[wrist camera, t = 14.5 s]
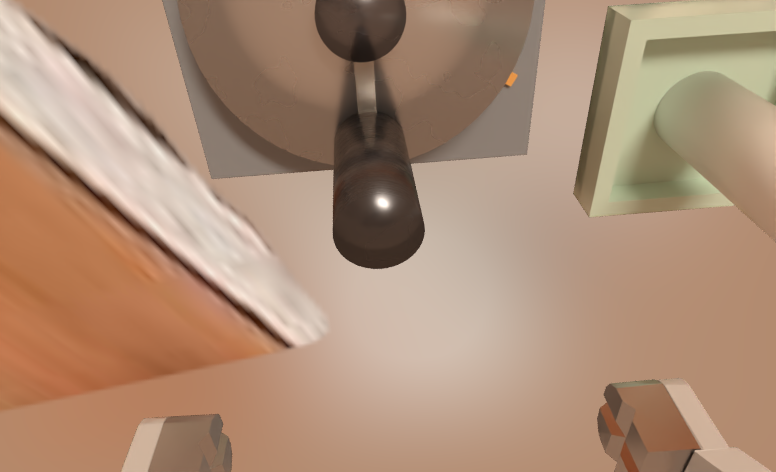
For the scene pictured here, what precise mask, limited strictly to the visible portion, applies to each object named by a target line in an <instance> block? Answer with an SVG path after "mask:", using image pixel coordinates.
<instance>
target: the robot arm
mask: <svg viewBox="0 0 776 472" xmlns="http://www.w3.org/2000/svg"><path fill="white" fill-rule="evenodd" d="M604 396H605V399H606V401H607V403H606V404H605V405H603V406H602V407H601V408H600V409H599V413H598V418H597V421H598V432H599V436H600V440H601V443H602V445H603V448H604V450H605V453H607V454H608V455H609V456H610V457H611V458H613V459H614V460H615V461H617V464H616V468H615V471H614V472H772V471H770V470H769V469H768V468H766V467H765V466H763V465H762V464H760V463H759V462H757V461H756V460H754V459H753V458H751V457H750V456H749V455H747V454H746V453H744V452H743V451H741V450H739V449H738V448H737V447H728V445H727V443H726V442H725V440H724V439H723V437H722V436H721V434H720V433H719V431H718V429H717V428H716V426H715V425H714V423H713V422H712V420H711V418H710V417H709V416H708V414H707V412H706V411H705V410H704V408H703V406H702V405H701V403H700V402H699V400H698V398H697V397H696V395H695V394H694V392H693V390H692V389H691V387H690V386H689V384H688V383H687V382H686V381H685V380H684V379H682V378H676V379H665V380H644V381H634V382H622V383H612V384H609V385H608V386H607V387H606V389H605V392H604ZM222 427H223V422H222V420H221V417H220V415H219V414H209V415H191V416H173V417H156V418H144V419H143V420H142V421H141V423H140V424H139V425H138V427H137V429H136V432H135V435H134V437H133V440H132V443H131V445H130V448H129V451H128V453H127V456H126V459H125V461H124V465H123V467H122V470H121V472H231V468H232V450H231V443H230V441H229V438H228V436H227V435H225V434H223V433H222V432H221V431H222Z"/></svg>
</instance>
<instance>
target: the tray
mask: <svg viewBox="0 0 776 472" xmlns="http://www.w3.org/2000/svg"><path fill="white" fill-rule="evenodd" d="M703 71H714V72H718V73H721V74H723V75H725V76H726V77H728V78H730V79H731V80H733V81H735V82H737V83H738V84H740V85H742V86H743V87H745V88H747V89H748V90H750V91H752V92H753V93H755V94H757V95H758V96H760V97H762V98H763V99H765V100H767V101H768V102H770V103H772V104H773V105H775V106H776V0H691V1H676V2H662V3H648V4H633V5H618V6H608V10H607V15H606V20H605V26H604V32H603V37H602V42H601V47H600V53H599V58H598V64H597V69H596V74H595V80H594V85H593V90H592V96H591V101H590V107H589V112H588V117H587V123H586V129H585V134H584V139H583V144H582V150H581V155H580V161H579V166H578V171H577V177H576V183H575V187H574V193H573V194H574V195H575V197H576V198H577V200H578V201H579V203H580V204H581V206H582V207H583V209H584V210H585V212H586V213H587V215H588V216H589V217H598V216H611V215H625V214H637V213H649V212H662V211H673V210H686V209H698V208H711V207H723V206H735V205H734V204H733V203H732V202H731V201H729V200H728V199H727V198H726V197H725V196H724V195H723V194H722V193H721V192H720V191H718V190H717V189H716V188H715V187H714V186H713V185H712V184H711V183H710V182H708V181H707V180H706V179H705V178H704V177H703V176H702V175H701V174H700V173H699V172H697V171H696V170H695V169H694V168H693V167H692V166H691V165H690V164H689V163H687V162H686V161H685V160H684V159H683V158H682V157H681V156H680V155H679V154H678V153H676V152H675V151H674V150H673V149H672V148H671V147H670V146H669V145H668V144H666V143H665V142H664V141H663V140H662V139H661V138H660V137H659V136H658V134H657V132H656V129H655V124H654V119H655V113H656V110H657V107H658V105H659V103H660V101H661V99H662V98H663V97H664V95H665V94H666V93H667V92H668V90H669V89H670V88H671V87H672V86H674V85H675V84H676V83H677V82H679V81H680V80H682V79H683V78H685V77H687V76H689V75H692V74H694V73H698V72H703Z"/></svg>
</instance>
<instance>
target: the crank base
mask: <svg viewBox="0 0 776 472" xmlns="http://www.w3.org/2000/svg"><path fill="white" fill-rule="evenodd" d="M162 2H163V5H164V9H165V12H166V16H167V19H168V23H169V27H170V30H171V34H172V38H173V41H174V45H175V48H176V52H177V56H178V59H179V63H180V67H181V70H182V74H183V77H184V81H185V85H186V88H187V92H188V95H189V99H190V102H191V106H192V110H193V113H194V117H195V121H196V124H197V128H198V131H199V135H200V138H201V142H202V146H203V149H204V153H205V157H206V160H207V164H208V167H209V171H210V175H211V178H212V179H217V178H230V177H242V176H256V175H269V174H282V173H294V172H308V171H320V170H334V165H330V164H325V163H321V162H316V161H312V160H309V159H306V158H303V157H300V156H297V155H294V154H292V153H290V152H288V151H286V150H284V149H282V148H280V147H277V146H275V145H274V144H272V143H271V142H269V141H267V140H266V139H264V138H263V137H261V136H259V135H258V134H257V133H255V132H254V131H253V130H251V129H250V128H249V127H248V126H246V125H245V124H244V123H243V122H241V121H240V120H239V119H238V118H237V117H236V116H235V115H234V114H233V113H232V112H231V111H230V110H229V109H228V108H227V107H226V106H225V104H224V103H223V102H222V101H221V99H220V98H219V97H218V95H217V94H216V93H215V92H214V90H213V89H212V88H211V86H210V85H209V83H208V81H207V80H206V78H205V77H204V75H203V73H202V72H201V70H200V68H199V66H198V64H197V62H196V60H195V58H194V56H193V54H192V51H191V49H190V47H189V44H188V41H187V38H186V35H185V32H184V29H183V26H182V23H181V18H180V13H179V8H178V3H177V0H162ZM544 7H545V0H534V6H533V12H532V18H531V23H530V27H529V30H528V34H527V37H526V40H525V44H524V47H523V49H522V51H521V54H520V56H519V58H518V61H517V63H516V66H515V67H514V69H513V71H512V73H511V75H510V76H509V78H508V80H507V82H506V83H505V85H504V87H503V88H502V89H501V91H500V92H499V93H498V95H497V96H496V98H495V99H494V100H493V102H492V103H491V104H490V105H489V106H488V107H487V108H486V109H485V111H484V112H483V113H482V114H481V115H480V116H479V117H478V118H477V119H476V120H475V121H474V122H472V123H471V124H470V125H469V126H468V127H467V128H465V129H464V130H463V131H462V132H461V133H459V134H458V135H456V136H455V137H453V138H452V139H450V140H449V141H447V142H446V143H444V144H442V145H440V146H438V147H436V148H435V149H433V150H431V151H429V152H427V153H424V154H421V155H419V156H416V157H414V158H411V159H410V163H411V164H412V163H425V162H437V161H450V160H463V159H476V158H488V157H501V156H515V155H527V149H528V140H529V132H530V124H531V115H532V108H533V98H534V91H535V82H536V73H537V66H538V57H539V49H540V41H541V31H542V24H543V16H544Z"/></svg>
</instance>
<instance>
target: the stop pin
mask: <svg viewBox="0 0 776 472" xmlns="http://www.w3.org/2000/svg"><path fill="white" fill-rule="evenodd" d="M654 124H655V129H656V132H657V134H658V136H659V137H660V138H661V139H662V140H663V141H664V142H665V143H666V144H668V145H669V146H670V147H671V148H672V149H673V150H674V151H675V152H676V153H678V154H679V155H680V156H681V157H682V158H683V159H684V160H685V161H686V162H687V163H689V164H690V165H691V166H692V167H693V168H694V169H695V170H696V171H697V172H699V173H700V174H701V175H702V176H703V177H704V178H705V179H706V180H707V181H708V182H710V183H711V184H712V185H713V186H714V187H715V188H716V189H717V190H718V191H720V192H721V193H722V194H723V195H724V196H725V197H726V198H727V199H728V200H729V201H731V202H732V203H733V204H734V205H735V206H736V207H737V208H738V209H740V210H741V211H742V212H743V213H744V214H745V215H746V216H747V217H748V218H749V219H750V220H752V221H753V222H754V223H755V224H756V225H757V226H758V227H759V228H760V229H762V230H763V231H764V232H765V233H766V234H767V235H768V236H769V237H771V238H772V239H773V240H774V241H775V242H776V106H775V105H773V104H772V103H770V102H768V101H767V100H765V99H763V98H762V97H760V96H758V95H757V94H755V93H753V92H752V91H750V90H748V89H747V88H745V87H743V86H742V85H740V84H738V83H737V82H735V81H733V80H731V79H730V78H728V77H726V76H725V75H723V74H721V73H718V72H714V71H703V72H698V73H694V74H692V75H689V76H687V77H685V78H683V79H682V80H680V81H679V82H677V83H676V84H675V85H674V86H672V87H671V88H670V89H669V90H668V92H667V93H666V94H665V95H664V97H663V98H662V99H661V101H660V103H659V105H658V107H657V110H656V113H655V119H654Z"/></svg>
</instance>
